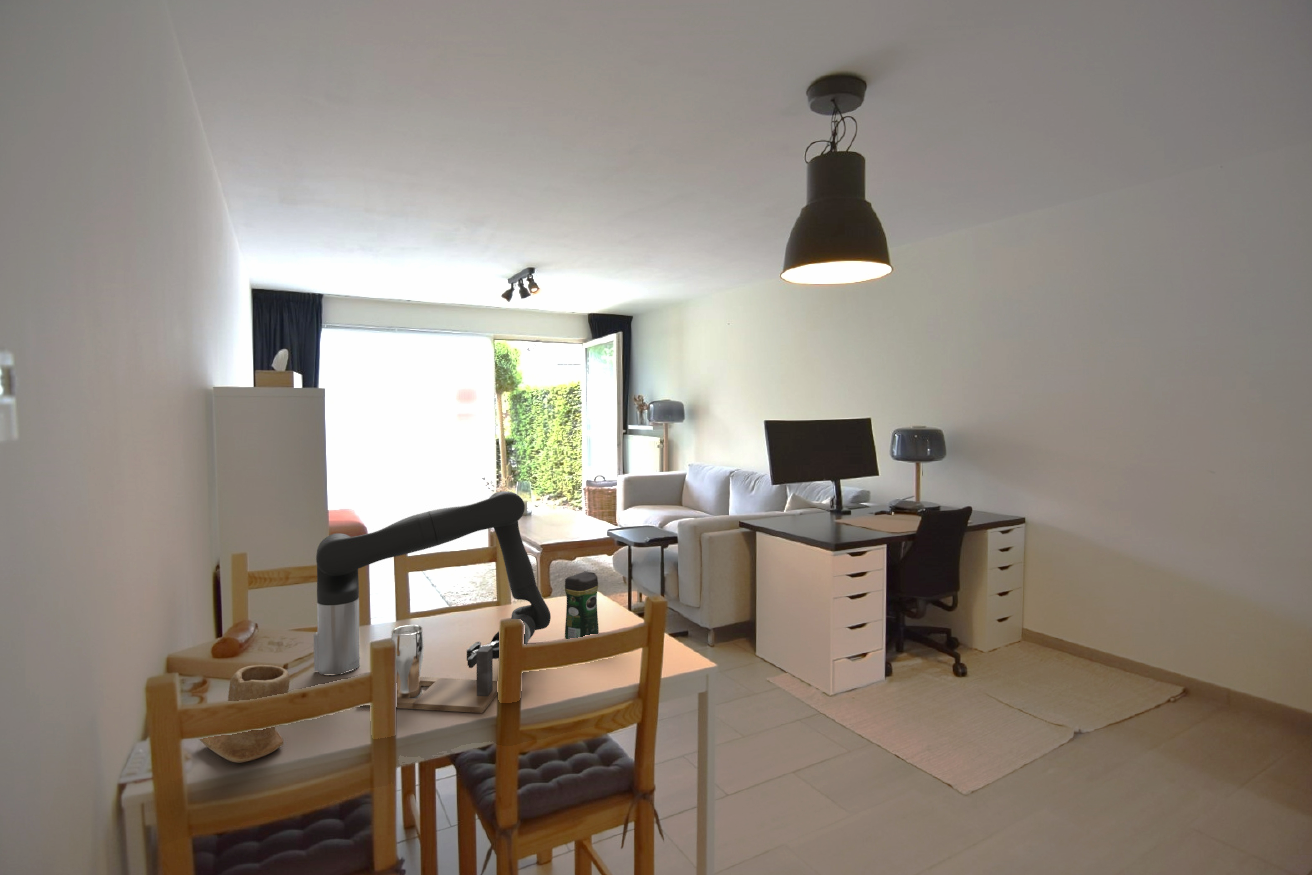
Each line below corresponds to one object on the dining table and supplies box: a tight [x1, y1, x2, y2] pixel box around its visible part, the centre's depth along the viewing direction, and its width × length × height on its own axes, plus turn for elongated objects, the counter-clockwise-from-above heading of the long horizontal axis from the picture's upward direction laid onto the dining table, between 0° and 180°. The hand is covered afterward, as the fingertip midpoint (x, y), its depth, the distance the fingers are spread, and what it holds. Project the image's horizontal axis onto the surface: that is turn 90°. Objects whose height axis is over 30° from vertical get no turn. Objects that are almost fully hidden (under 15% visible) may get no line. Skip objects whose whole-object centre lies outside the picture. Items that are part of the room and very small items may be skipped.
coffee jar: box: [564, 570, 600, 640], centre depth 178 cm, size 10×8×19 cm
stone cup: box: [198, 664, 291, 764], centre depth 119 cm, size 15×12×15 cm
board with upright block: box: [364, 646, 498, 714], centre depth 141 cm, size 28×13×11 cm, turn 84°
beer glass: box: [390, 624, 425, 699], centre depth 141 cm, size 7×7×15 cm
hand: (488, 664), depth 142 cm, fingers open, 8 cm apart
